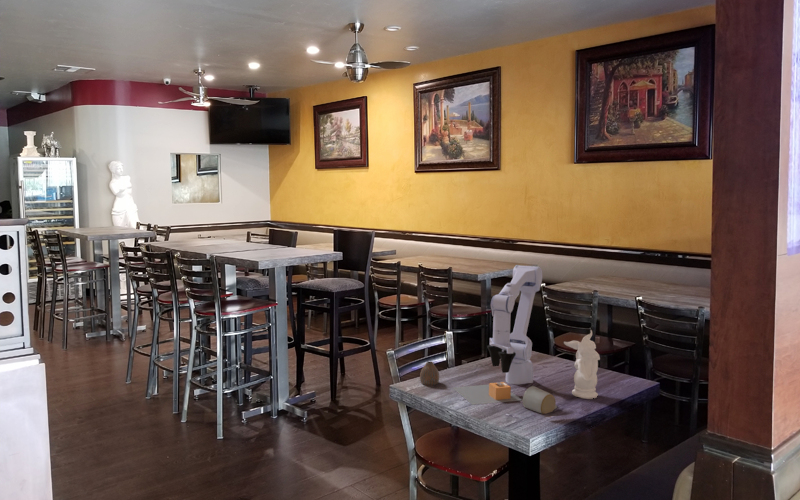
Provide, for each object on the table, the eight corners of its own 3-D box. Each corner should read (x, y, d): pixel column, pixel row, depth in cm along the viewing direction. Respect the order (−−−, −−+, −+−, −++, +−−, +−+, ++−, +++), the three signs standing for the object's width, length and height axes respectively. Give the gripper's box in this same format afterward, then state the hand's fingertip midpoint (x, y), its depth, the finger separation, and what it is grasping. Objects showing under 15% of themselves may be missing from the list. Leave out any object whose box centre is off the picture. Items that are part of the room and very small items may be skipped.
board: (499, 386, 222) (499, 383, 222) (522, 403, 205) (522, 400, 204) (452, 390, 217) (452, 387, 217) (472, 408, 199) (472, 404, 199)
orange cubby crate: (488, 394, 209) (489, 382, 209) (503, 393, 211) (503, 381, 210) (495, 399, 204) (495, 387, 204) (510, 398, 206) (510, 386, 205)
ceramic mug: (542, 419, 191) (543, 394, 190) (521, 411, 197) (522, 387, 197) (563, 412, 197) (564, 388, 197) (542, 405, 204) (543, 382, 203)
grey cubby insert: (499, 395, 209) (500, 382, 208) (502, 397, 207) (503, 384, 206) (496, 395, 208) (496, 382, 208) (499, 397, 206) (499, 384, 206)
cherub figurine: (592, 402, 207) (595, 338, 204) (556, 395, 214) (558, 333, 211) (602, 391, 217) (604, 330, 215) (567, 385, 224) (569, 326, 221)
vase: (437, 390, 218) (438, 365, 217) (418, 388, 219) (418, 364, 218) (440, 384, 224) (440, 360, 224) (421, 382, 226) (421, 359, 225)
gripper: (482, 326, 216) (481, 364, 217) (500, 335, 202) (499, 376, 203) (500, 325, 218) (499, 362, 219) (519, 334, 204) (518, 374, 205)
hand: (500, 369), depth 211 cm, fingers open, 7 cm apart
